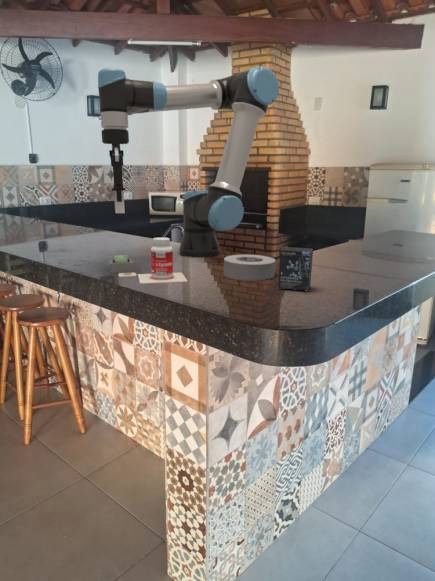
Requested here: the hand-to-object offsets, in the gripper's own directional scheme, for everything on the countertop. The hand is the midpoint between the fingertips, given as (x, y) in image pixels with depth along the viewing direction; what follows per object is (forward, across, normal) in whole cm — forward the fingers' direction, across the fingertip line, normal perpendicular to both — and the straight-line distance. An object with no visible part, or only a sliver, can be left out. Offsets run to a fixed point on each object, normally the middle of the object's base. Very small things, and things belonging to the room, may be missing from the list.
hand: (120, 212), depth 132 cm
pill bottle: (+17, +13, +10) cm, 24 cm away
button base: (+18, 0, -1) cm, 18 cm away
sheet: (+18, +13, +10) cm, 24 cm away
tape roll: (+19, +13, +36) cm, 43 cm away
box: (+18, +31, +43) cm, 56 cm away
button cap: (+17, 0, -1) cm, 17 cm away
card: (+18, +7, +1) cm, 19 cm away
